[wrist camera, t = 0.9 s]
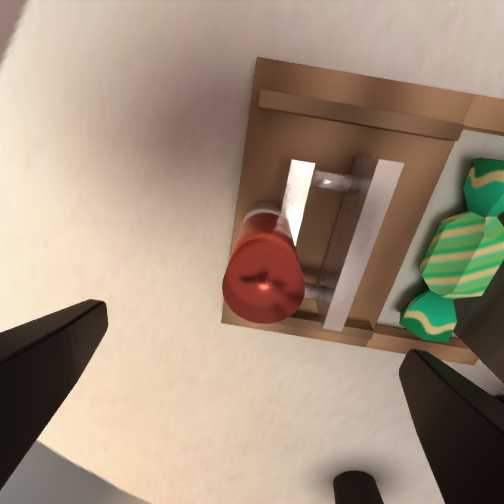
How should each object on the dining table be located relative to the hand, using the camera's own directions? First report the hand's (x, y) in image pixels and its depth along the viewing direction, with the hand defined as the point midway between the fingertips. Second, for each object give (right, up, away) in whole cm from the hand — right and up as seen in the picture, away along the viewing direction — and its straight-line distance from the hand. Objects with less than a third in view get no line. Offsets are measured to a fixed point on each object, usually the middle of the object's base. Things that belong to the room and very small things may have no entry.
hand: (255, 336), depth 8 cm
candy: (+14, +3, +11) cm, 18 cm away
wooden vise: (+9, +4, +11) cm, 15 cm away
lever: (+3, +4, +10) cm, 11 cm away
